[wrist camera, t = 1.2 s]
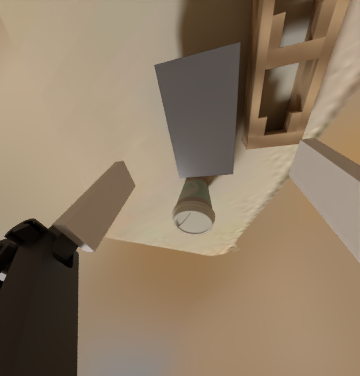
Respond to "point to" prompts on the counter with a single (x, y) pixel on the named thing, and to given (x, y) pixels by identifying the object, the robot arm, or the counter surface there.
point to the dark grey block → (202, 109)
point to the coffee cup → (194, 208)
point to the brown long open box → (275, 57)
